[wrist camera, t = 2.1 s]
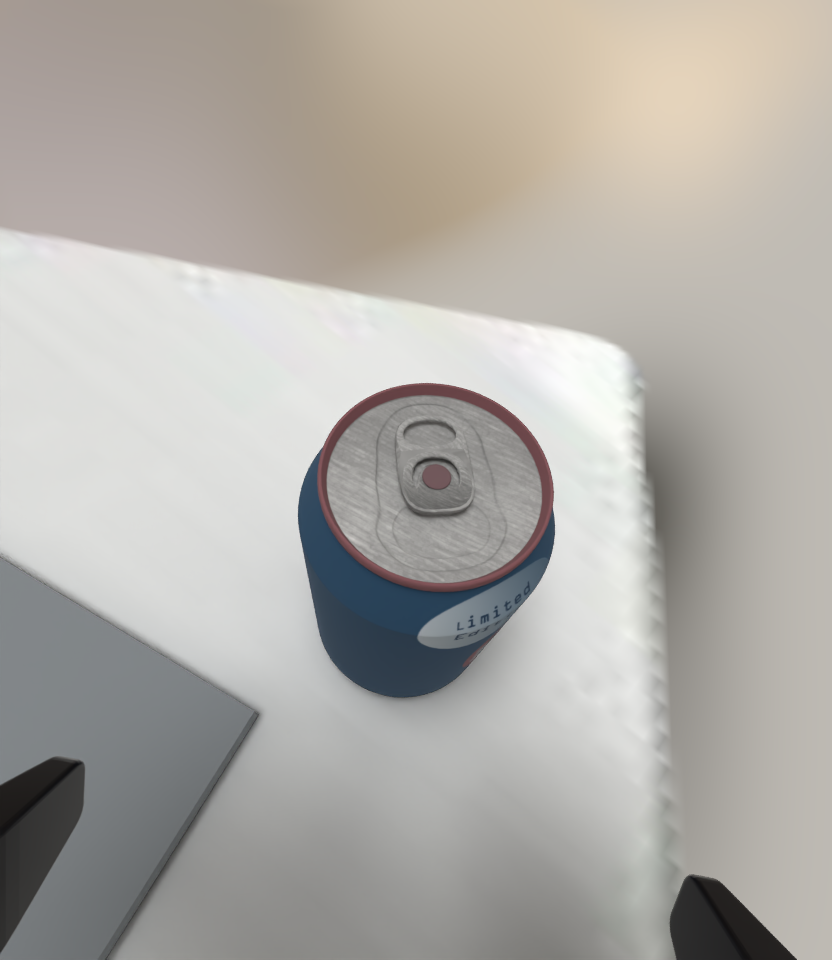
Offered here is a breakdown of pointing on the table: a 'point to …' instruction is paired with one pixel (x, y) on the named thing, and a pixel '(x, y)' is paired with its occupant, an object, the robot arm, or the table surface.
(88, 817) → the rubber mat
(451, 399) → the soda can
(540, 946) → the table surface
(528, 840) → the table surface
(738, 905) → the robot arm
